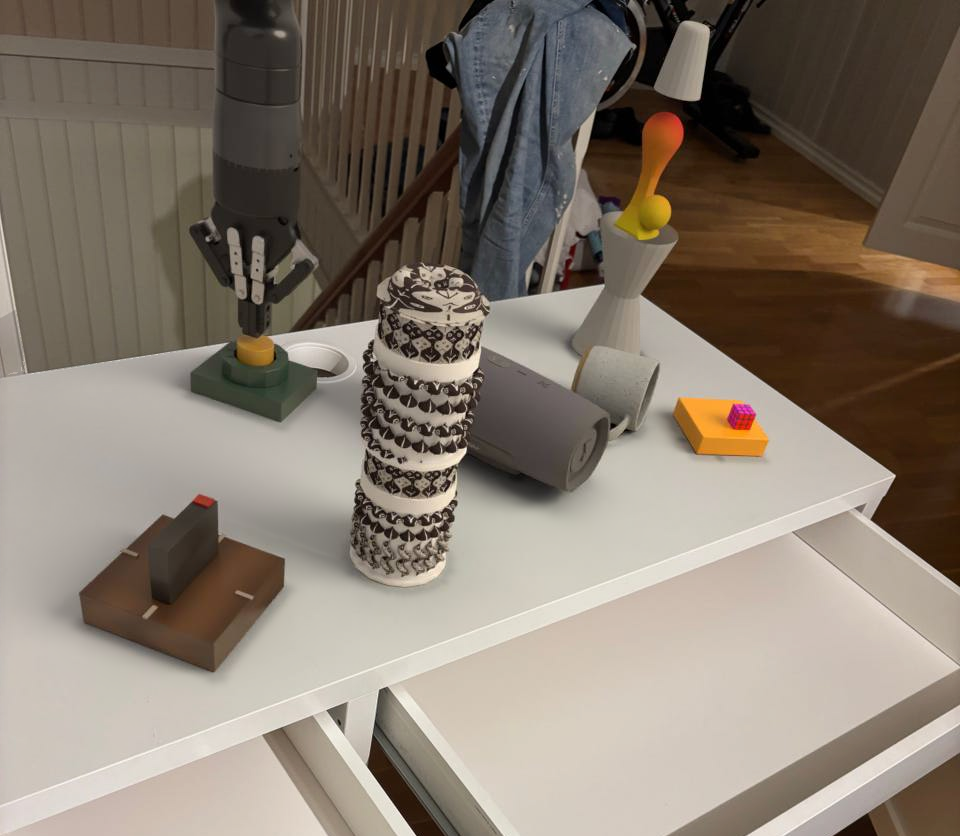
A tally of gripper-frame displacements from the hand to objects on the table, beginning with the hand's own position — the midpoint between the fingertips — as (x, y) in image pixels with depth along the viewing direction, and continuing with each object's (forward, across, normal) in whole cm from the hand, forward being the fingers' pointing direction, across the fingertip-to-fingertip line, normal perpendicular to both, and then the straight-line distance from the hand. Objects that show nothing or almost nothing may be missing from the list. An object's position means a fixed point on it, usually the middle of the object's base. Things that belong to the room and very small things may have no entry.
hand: (254, 333), depth 96 cm
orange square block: (+6, +46, +20) cm, 51 cm away
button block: (+6, 0, 0) cm, 6 cm away
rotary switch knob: (+3, +11, -31) cm, 33 cm away
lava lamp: (+6, +30, +33) cm, 45 cm away
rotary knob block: (+6, +11, -31) cm, 34 cm away
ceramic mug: (+6, +34, +16) cm, 38 cm away
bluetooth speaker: (+6, +24, +3) cm, 25 cm away
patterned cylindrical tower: (+6, +23, -17) cm, 30 cm away
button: (+3, 0, 0) cm, 3 cm away
